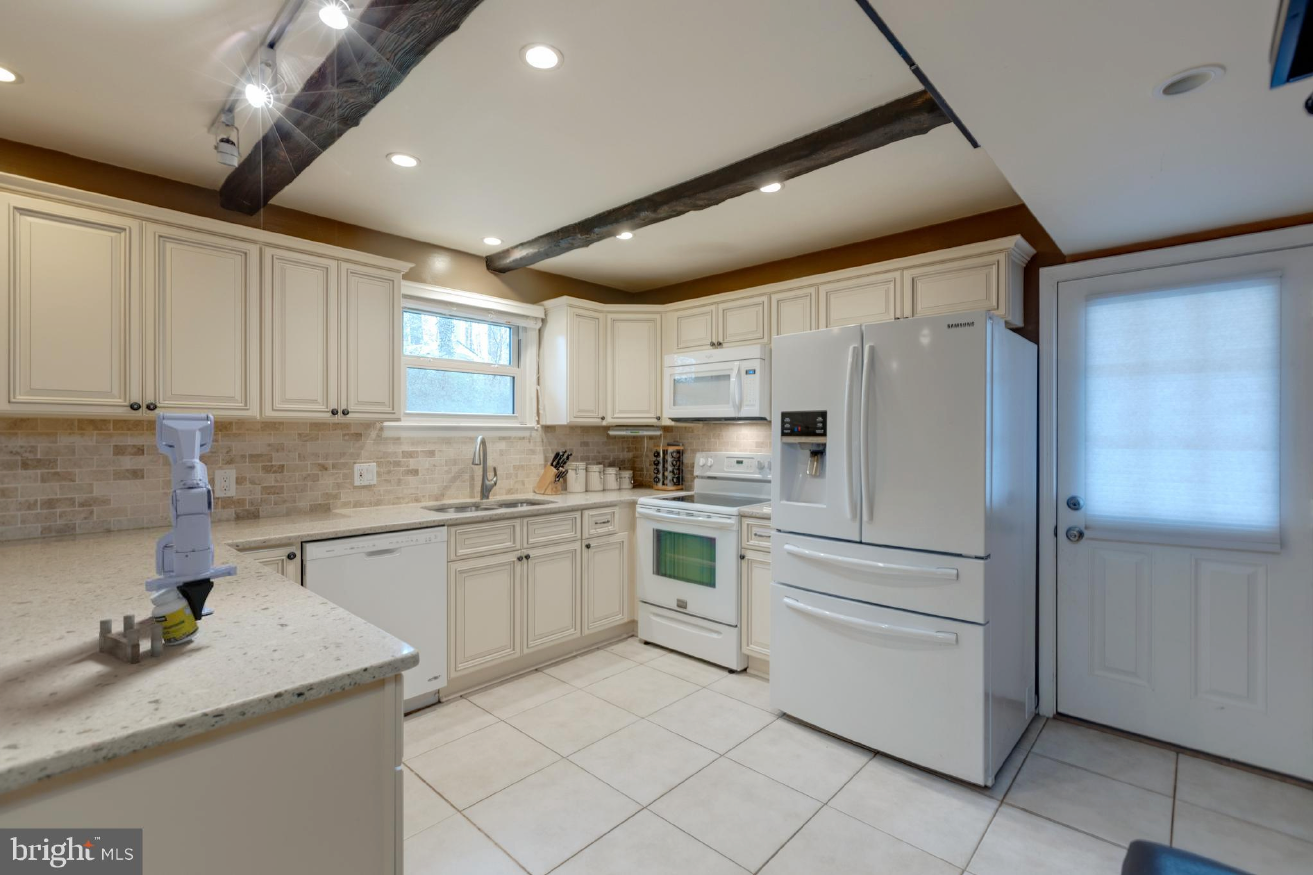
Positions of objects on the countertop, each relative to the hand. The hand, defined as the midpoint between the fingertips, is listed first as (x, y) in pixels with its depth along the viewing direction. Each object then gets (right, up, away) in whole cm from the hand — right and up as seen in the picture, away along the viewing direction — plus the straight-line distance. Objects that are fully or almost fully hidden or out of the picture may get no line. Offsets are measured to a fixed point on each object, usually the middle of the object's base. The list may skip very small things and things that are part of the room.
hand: (194, 620), depth 114 cm
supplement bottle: (-1, -3, -1) cm, 4 cm away
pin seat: (-6, -4, -8) cm, 10 cm away
